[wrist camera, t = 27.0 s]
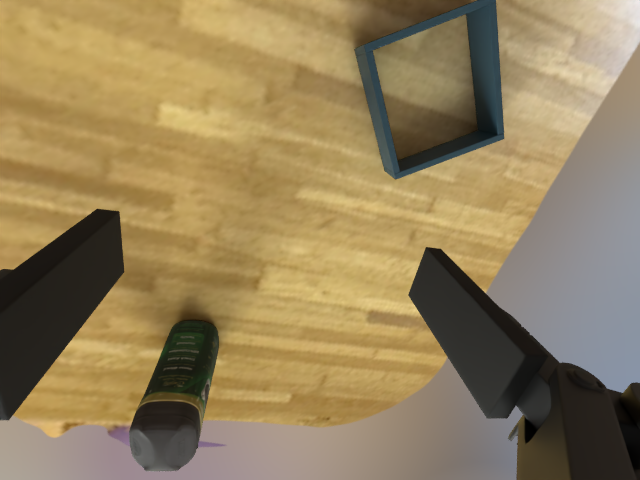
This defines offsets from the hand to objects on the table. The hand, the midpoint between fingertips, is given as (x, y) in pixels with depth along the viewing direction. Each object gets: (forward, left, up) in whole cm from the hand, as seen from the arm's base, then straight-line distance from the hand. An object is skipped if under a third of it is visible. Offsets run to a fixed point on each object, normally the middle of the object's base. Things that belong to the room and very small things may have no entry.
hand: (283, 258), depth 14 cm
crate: (+1, +20, -31) cm, 36 cm away
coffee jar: (+25, -25, -31) cm, 47 cm away
